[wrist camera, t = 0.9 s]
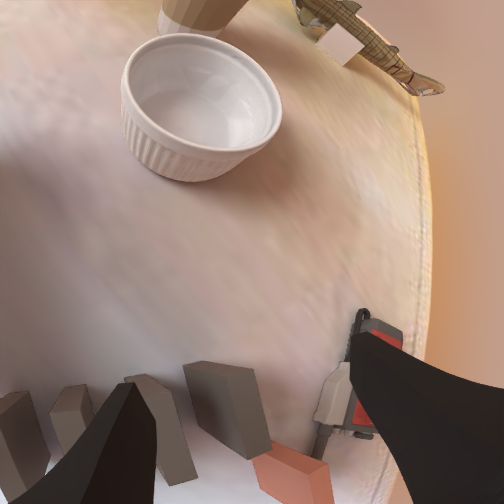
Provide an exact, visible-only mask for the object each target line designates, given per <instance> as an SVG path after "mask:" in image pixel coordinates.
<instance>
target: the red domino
mask: <svg viewBox="0 0 504 504" xmlns="http://www.w3.org/2000/svg"><path fill="white" fill-rule="evenodd" d="M271 444H272V448H273V450H271V451H268V452H266V453H264V454H261V455H259V456H257V457H254V458H252V461H253V465H254V468H255V472H256V475H257V479H258V482H259V486H260V489H262V490H263V491H265V492H266V493H268V494H269V495H271V496H272V497H274V498H275V499H277V500H278V501H280V502H281V503H283V504H335V503H334V497H333V491H332V485H331V480H330V474H329V469H328V464H327V463H325V462H322V461H319V460H317V459H314V458H311V457H309V456H306V455H304V454H301V453H299V452H296V451H294V450H292V449H289V448H287V447H285V446H282V445H280V444H278V443H275V442H273V441H271Z"/></svg>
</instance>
